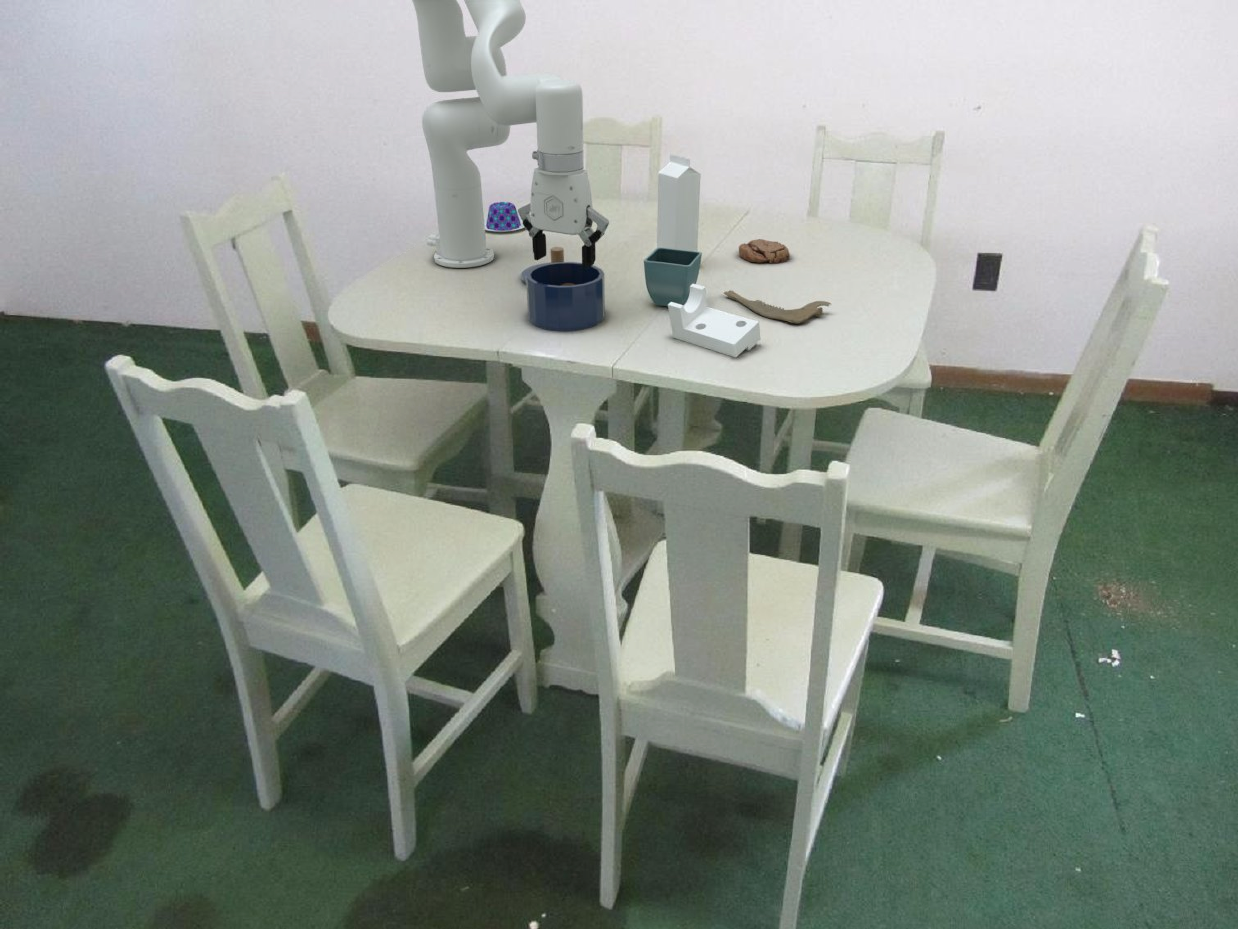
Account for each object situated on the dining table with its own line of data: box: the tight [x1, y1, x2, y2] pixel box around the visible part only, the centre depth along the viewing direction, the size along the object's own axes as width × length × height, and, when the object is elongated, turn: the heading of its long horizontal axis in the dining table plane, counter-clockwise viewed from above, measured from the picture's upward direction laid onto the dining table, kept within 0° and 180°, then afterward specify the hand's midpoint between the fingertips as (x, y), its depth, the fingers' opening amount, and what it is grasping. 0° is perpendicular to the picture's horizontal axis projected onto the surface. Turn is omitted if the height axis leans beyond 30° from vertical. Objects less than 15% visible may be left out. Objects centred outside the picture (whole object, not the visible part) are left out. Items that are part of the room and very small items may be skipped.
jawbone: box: [723, 289, 832, 324], centre depth 165 cm, size 9×20×2 cm, turn 63°
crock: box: [525, 261, 606, 332], centre depth 161 cm, size 14×14×8 cm
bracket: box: [667, 283, 762, 358], centre depth 151 cm, size 13×7×8 cm, turn 49°
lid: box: [520, 246, 565, 284], centre depth 179 cm, size 15×15×6 cm
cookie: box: [738, 238, 790, 264], centre depth 192 cm, size 10×11×3 cm
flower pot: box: [643, 247, 703, 307], centre depth 167 cm, size 9×9×9 cm
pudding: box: [484, 201, 525, 233], centre depth 211 cm, size 12×12×5 cm
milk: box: [656, 153, 701, 252], centre depth 182 cm, size 6×6×22 cm
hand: (564, 262), depth 158 cm, fingers open, 9 cm apart
